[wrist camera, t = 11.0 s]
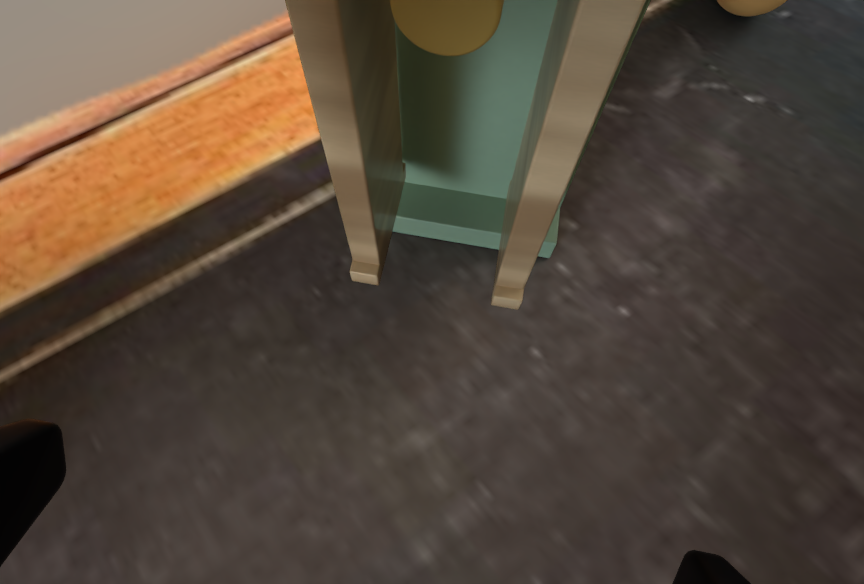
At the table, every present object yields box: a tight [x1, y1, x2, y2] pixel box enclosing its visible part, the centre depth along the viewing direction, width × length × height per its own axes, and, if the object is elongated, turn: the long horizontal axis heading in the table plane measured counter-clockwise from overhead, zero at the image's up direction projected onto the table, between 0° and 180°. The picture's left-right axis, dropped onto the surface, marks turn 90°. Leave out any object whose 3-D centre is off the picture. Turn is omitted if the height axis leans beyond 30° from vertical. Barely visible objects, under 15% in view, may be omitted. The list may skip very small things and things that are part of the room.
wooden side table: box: [285, 0, 646, 309], centre depth 12 cm, size 4×5×12 cm
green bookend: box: [390, 0, 651, 258], centre depth 14 cm, size 8×8×16 cm
